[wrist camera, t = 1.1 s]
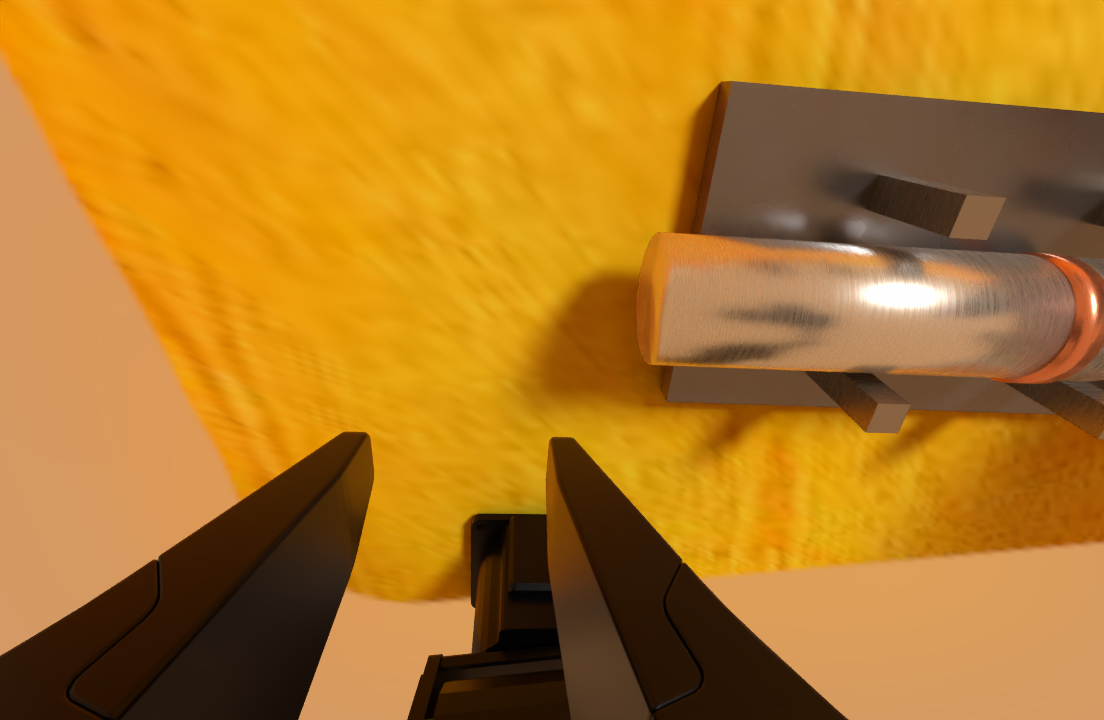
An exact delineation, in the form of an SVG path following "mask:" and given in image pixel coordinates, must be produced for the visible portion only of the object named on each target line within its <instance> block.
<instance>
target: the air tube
mask: <svg viewBox="0 0 1104 720" xmlns="http://www.w3.org/2000/svg"><path fill="white" fill-rule="evenodd" d="M636 324H637V337H638V343H639V348H640V352H641V355H642V357H643V359H644V361H645V362H646V363H647V364H649V365H668V366H694V367H720V368H746V369H772V370H798V371H824V372H850V373H876V374H902V375H928V376H954V377H980V378H990V379H992V380H995V381H999V382H1005V383H1025V384H1045V383H1052V382H1056V381H1099V380H1104V259H1096V258H1080V257H1071V256H1068V255H1061V254H1049V253H1032V252H1022V253H1015V254H1013V253H997V252H980V251H964V250H947V249H930V248H914V247H897V246H881V245H864V244H848V243H831V242H814V241H798V240H781V239H765V238H748V237H731V236H715V235H698V234H682V233H665V232H658V233H656V234H655V235H654V236H653V237H652V238H651V240H650V242H649V244H648V246H647V249H646V251H645V254H644V258H643V262H642V266H641V271H640V276H639V283H638V291H637V305H636Z"/></svg>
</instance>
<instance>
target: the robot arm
mask: <svg viewBox="0 0 1104 720" xmlns="http://www.w3.org/2000/svg"><path fill="white" fill-rule="evenodd" d="M373 481H374V466H373V457H372V448H371V439H370V436H369V435H368V433H366V432H343V433H341V434H339V435H338V436H336V437H335V438H333V439H332V440H330V441H329V442H327V443H326V444H325V445H323V446H322V447H320V448H319V449H317V450H316V451H314V452H313V453H311V454H310V455H308V456H307V457H305V458H304V459H302V460H301V461H299V462H298V463H296V464H295V465H293V466H292V467H290V468H289V469H287V470H286V471H284V472H283V473H281V474H280V475H279V476H277V477H276V478H274V479H273V480H271V481H270V482H268V483H267V484H265V485H264V486H262V487H261V488H259V489H258V490H256V491H255V492H253V493H252V494H250V495H249V496H247V497H246V498H244V499H243V500H241V501H240V502H238V503H237V504H235V505H234V506H233V507H231V508H230V509H228V510H227V511H225V512H224V513H222V514H221V515H219V516H218V517H216V518H215V519H213V520H212V521H210V522H209V523H207V524H206V525H204V526H203V527H201V528H200V529H199V530H197V531H196V532H194V533H192V534H191V535H190V536H188V537H187V538H185V539H184V540H182V541H181V542H179V543H178V544H176V545H175V546H173V547H172V548H170V549H169V550H167V551H166V552H164V553H163V554H161V555H160V556H159V558H158V561H157V560H152V561H151V562H149V563H148V564H146V565H145V566H143V567H142V568H140V569H139V570H137V571H136V572H134V573H133V574H131V575H130V576H128V577H127V578H125V579H124V580H122V581H121V582H119V583H118V584H116V585H115V586H113V587H111V588H110V589H109V590H107V591H105V592H104V593H102V594H101V595H99V596H98V597H96V598H95V599H93V600H91V601H90V602H88V603H87V604H85V605H84V606H82V607H81V608H79V609H77V610H76V611H74V612H72V613H71V614H69V615H67V616H66V617H64V618H62V619H61V620H59V621H58V622H56V623H54V624H53V625H51V626H49V627H48V628H46V629H44V630H43V631H41V632H39V633H38V634H36V635H35V636H33V637H31V638H30V639H28V640H26V641H25V642H23V643H21V644H20V645H18V646H16V647H14V648H13V649H11V650H10V651H8V652H6V653H4V654H3V655H1V656H0V720H298V719H299V716H300V713H301V710H302V708H303V705H304V702H305V699H306V696H307V694H308V691H309V688H310V686H311V683H312V680H313V677H314V675H315V672H316V669H317V666H318V664H319V661H320V658H321V655H322V652H323V650H324V647H325V644H326V642H327V639H328V636H329V633H330V630H331V628H332V625H333V622H334V619H335V617H336V614H337V611H338V608H339V606H340V603H341V600H342V597H343V595H344V592H345V589H346V586H347V584H348V581H349V578H350V575H351V572H352V569H353V566H354V563H355V559H356V555H357V551H358V546H359V542H360V538H361V534H362V529H363V525H364V521H365V516H366V512H367V508H368V503H369V499H370V495H371V491H372V486H373ZM546 508H547V515H543V514H478V515H475V516H474V517H473V519H472V524H471V605H472V606H473V607H474V608H475V620H474V632H473V643H472V653H471V654H463V655H453V656H443V655H442V654H439V655H430V656H429V657H428V661H427V664H426V667H425V670H424V674H423V675H421V677H420V680H419V684H418V687H417V690H416V693H415V696H414V700H413V703H412V706H411V710H410V713H409V716H408V719H407V720H848V719H847V718H846V717H845V716H844V715H842V714H841V713H840V712H839V711H838V710H837V709H835V708H834V707H833V706H832V705H831V704H830V703H829V702H828V701H827V700H826V699H825V698H823V697H822V696H821V695H820V694H819V693H818V692H817V691H816V690H815V689H814V688H813V687H811V686H810V685H809V684H808V683H807V682H806V681H805V680H804V679H803V678H802V677H801V676H800V675H798V674H797V673H796V672H795V671H794V670H793V669H792V668H791V667H790V666H789V665H788V664H786V663H785V662H784V661H783V660H782V659H781V658H780V657H779V656H778V655H777V654H776V653H775V652H773V651H772V650H771V649H770V648H769V647H768V646H767V645H766V644H765V643H764V642H763V641H762V640H760V639H759V638H758V637H757V636H756V635H755V634H754V633H753V632H752V631H751V630H750V629H749V628H748V627H747V626H746V625H745V624H744V623H743V622H742V621H740V620H739V619H738V618H737V617H736V616H735V615H734V614H733V613H732V612H731V611H730V610H729V609H728V608H727V607H726V606H725V605H724V604H723V603H722V602H721V601H720V600H719V599H718V598H717V597H716V596H715V595H714V593H713V592H712V591H711V590H710V589H709V588H708V587H707V586H706V585H705V584H704V583H703V582H702V581H701V580H700V579H699V577H698V576H697V575H696V574H695V573H694V572H693V571H692V570H691V568H690V567H689V566H688V565H687V564H686V563H682V559H681V558H680V556H679V555H678V554H677V553H676V552H675V551H674V550H673V549H672V548H671V546H670V545H669V544H668V543H667V542H666V541H665V540H664V539H663V537H662V536H661V535H660V534H659V533H658V532H657V531H656V530H655V529H654V527H653V526H652V525H651V524H650V523H649V522H648V521H647V520H646V518H645V517H644V516H643V515H642V514H641V513H640V512H639V511H638V510H637V508H636V507H635V506H634V505H633V504H632V503H631V502H630V501H629V499H628V498H627V497H626V496H625V495H624V494H623V493H622V492H621V491H620V489H619V488H618V487H617V486H616V485H615V484H614V483H613V482H612V481H611V479H610V478H609V477H608V476H607V475H606V474H605V473H604V472H603V470H602V469H601V468H600V467H599V466H598V465H597V464H596V463H595V462H594V460H593V459H592V458H591V457H590V456H589V455H588V454H587V453H586V451H585V450H584V449H583V448H582V447H581V446H580V445H579V444H578V443H577V441H576V440H575V439H573V438H571V437H552V438H551V439H550V441H549V449H548V461H547V473H546ZM481 523H482V524H485V525H479V524H481Z"/></svg>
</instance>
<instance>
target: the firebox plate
mask: <svg viewBox="0 0 1104 720" xmlns="http://www.w3.org/2000/svg"><path fill="white" fill-rule="evenodd" d="M691 234H698V235H715V236H731V237H748V238H765V239H781V240H798V241H814V242H831V243H848V244H864V245H881V246H897V247H914V248H930V249H947V250H964V251H980V252H997V253H1013V254H1015V253H1022V252H1032V253H1049V254H1061V255H1068V256H1071V257H1080V258H1096V259H1104V113H1095V112H1084V111H1072V110H1060V109H1049V108H1037V107H1025V106H1014V105H1002V104H991V103H979V102H967V101H956V100H944V99H933V98H921V97H909V96H898V95H886V94H874V93H863V92H851V91H840V90H828V89H816V88H805V87H793V86H781V85H770V84H758V83H747V82H735V81H727V82H721V85H720V90H719V95H718V100H717V105H716V111H715V116H714V121H713V126H712V131H711V136H710V141H709V146H708V151H707V156H706V162H705V167H704V172H703V177H702V182H701V187H700V192H699V197H698V202H697V208H696V213H695V218H694V223H693V228H692V233H691ZM661 391H662V393H663V395H664V397H665V399H666V402H693V403H724V404H754V405H785V406H816V407H841V408H842V409H843V410H844V411H845V412H846V413H847V414H848V415H849V416H850V417H851V418H852V419H853V420H854V421H855V422H856V423H857V424H858V425H859V426H860V427H861V428H862V429H863V430H864V431H865V432H869V433H898V432H899V430H900V428H901V426H902V423H903V421H904V419H905V417H906V415H907V413H908V410H939V411H969V412H1000V413H1031V414H1057V415H1059V416H1060V417H1062V418H1064V419H1065V420H1067V421H1069V422H1070V423H1072V424H1074V425H1075V426H1077V427H1079V428H1080V429H1082V430H1084V431H1085V432H1087V433H1089V434H1090V435H1092V436H1094V437H1095V438H1097V439H1104V380H1099V381H1056V382H1052V383H1045V384H1025V383H1005V382H999V381H995V380H992V379H990V378H980V377H954V376H928V375H902V374H876V373H850V372H824V371H798V370H772V369H746V368H720V367H694V366H668V365H666V366H665V371H664V376H663V381H662V386H661Z"/></svg>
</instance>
